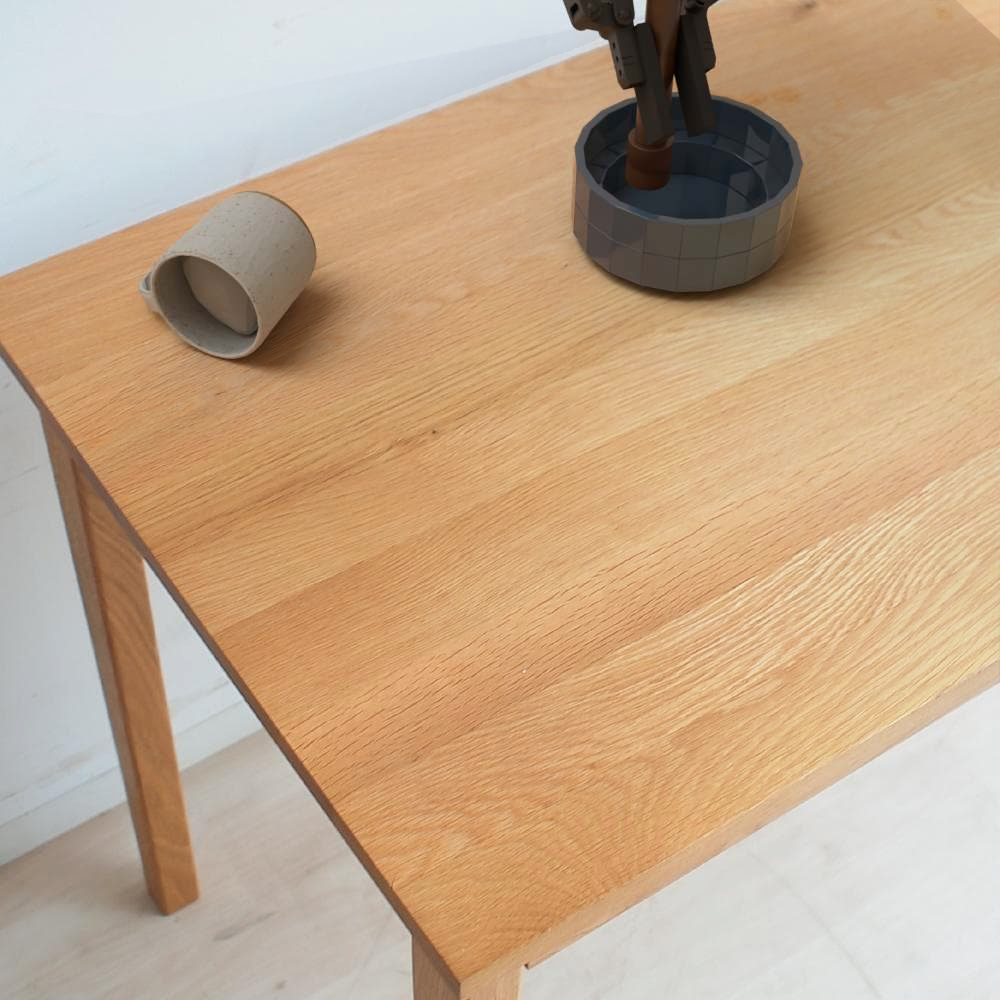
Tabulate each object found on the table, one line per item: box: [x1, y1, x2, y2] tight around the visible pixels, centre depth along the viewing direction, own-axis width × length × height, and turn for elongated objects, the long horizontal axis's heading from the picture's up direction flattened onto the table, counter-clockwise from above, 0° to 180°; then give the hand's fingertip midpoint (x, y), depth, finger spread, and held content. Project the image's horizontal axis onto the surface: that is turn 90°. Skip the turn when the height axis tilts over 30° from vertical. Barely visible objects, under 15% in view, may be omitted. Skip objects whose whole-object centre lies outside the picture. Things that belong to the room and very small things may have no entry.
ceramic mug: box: [138, 190, 318, 360], centre depth 87 cm, size 11×8×8 cm
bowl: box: [570, 91, 804, 293], centre depth 93 cm, size 14×14×6 cm
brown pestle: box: [625, 0, 682, 191], centre depth 85 cm, size 3×3×16 cm
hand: (681, 135), depth 84 cm, fingers closed on brown pestle, 2 cm apart
